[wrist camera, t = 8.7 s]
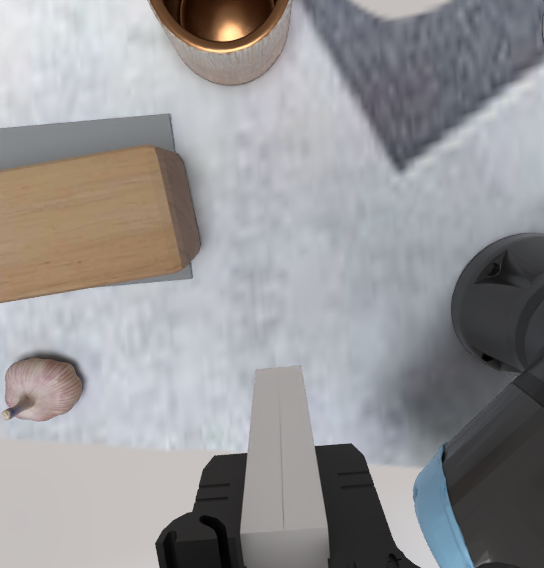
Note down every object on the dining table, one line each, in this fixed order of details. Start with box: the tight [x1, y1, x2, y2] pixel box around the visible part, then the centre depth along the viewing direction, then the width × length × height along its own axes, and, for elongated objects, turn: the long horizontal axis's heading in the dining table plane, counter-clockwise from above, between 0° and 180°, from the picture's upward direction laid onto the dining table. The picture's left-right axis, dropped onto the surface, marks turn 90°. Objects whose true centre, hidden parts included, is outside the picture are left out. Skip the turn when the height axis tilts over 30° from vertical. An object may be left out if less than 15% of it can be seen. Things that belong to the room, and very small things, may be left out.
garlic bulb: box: [2, 358, 82, 421], centre depth 41 cm, size 8×7×8 cm
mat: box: [0, 114, 192, 288], centre depth 40 cm, size 20×16×1 cm
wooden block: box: [0, 144, 201, 303], centre depth 35 cm, size 10×10×20 cm
